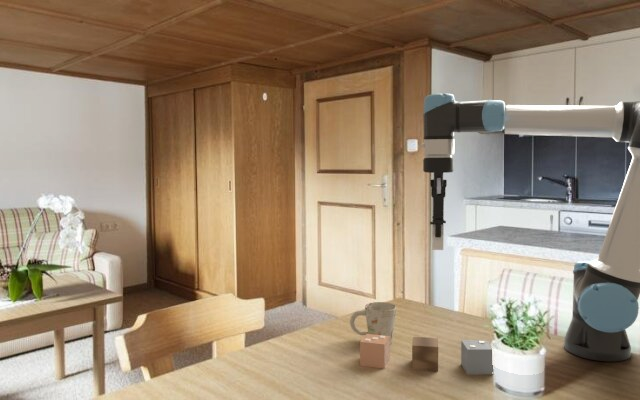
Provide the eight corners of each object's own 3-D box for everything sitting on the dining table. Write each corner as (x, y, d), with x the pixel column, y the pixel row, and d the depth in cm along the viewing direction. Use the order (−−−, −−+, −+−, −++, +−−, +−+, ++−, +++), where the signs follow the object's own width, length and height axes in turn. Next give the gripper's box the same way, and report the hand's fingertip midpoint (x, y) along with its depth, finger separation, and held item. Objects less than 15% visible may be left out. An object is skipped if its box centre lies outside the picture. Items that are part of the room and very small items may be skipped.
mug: (395, 348, 139) (395, 311, 138) (347, 345, 142) (347, 309, 141) (396, 337, 147) (397, 302, 146) (351, 335, 150) (351, 300, 149)
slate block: (486, 364, 129) (486, 339, 128) (493, 374, 123) (493, 348, 122) (461, 364, 129) (461, 339, 128) (467, 374, 123) (467, 348, 122)
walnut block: (437, 362, 130) (437, 338, 130) (438, 371, 125) (438, 347, 124) (412, 360, 132) (412, 336, 131) (412, 370, 126) (412, 345, 125)
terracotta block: (389, 359, 132) (389, 335, 132) (384, 368, 127) (384, 343, 126) (366, 356, 134) (366, 332, 134) (360, 365, 129) (360, 340, 128)
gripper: (423, 156, 141) (423, 244, 143) (423, 157, 128) (422, 253, 130) (452, 156, 139) (451, 245, 142) (455, 156, 127) (454, 254, 129)
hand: (437, 249), depth 136 cm, fingers closed
